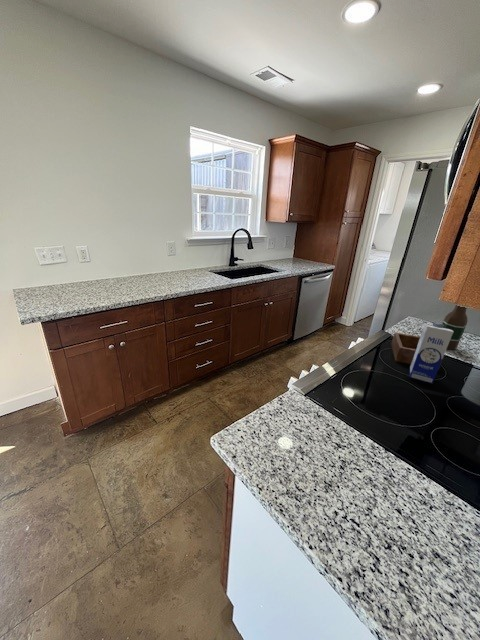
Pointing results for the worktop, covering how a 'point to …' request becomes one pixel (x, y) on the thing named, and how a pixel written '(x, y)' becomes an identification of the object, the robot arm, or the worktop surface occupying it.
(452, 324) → the beer bottle
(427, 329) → the milk carton
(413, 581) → the worktop surface
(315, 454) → the worktop surface
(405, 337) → the oak frame
